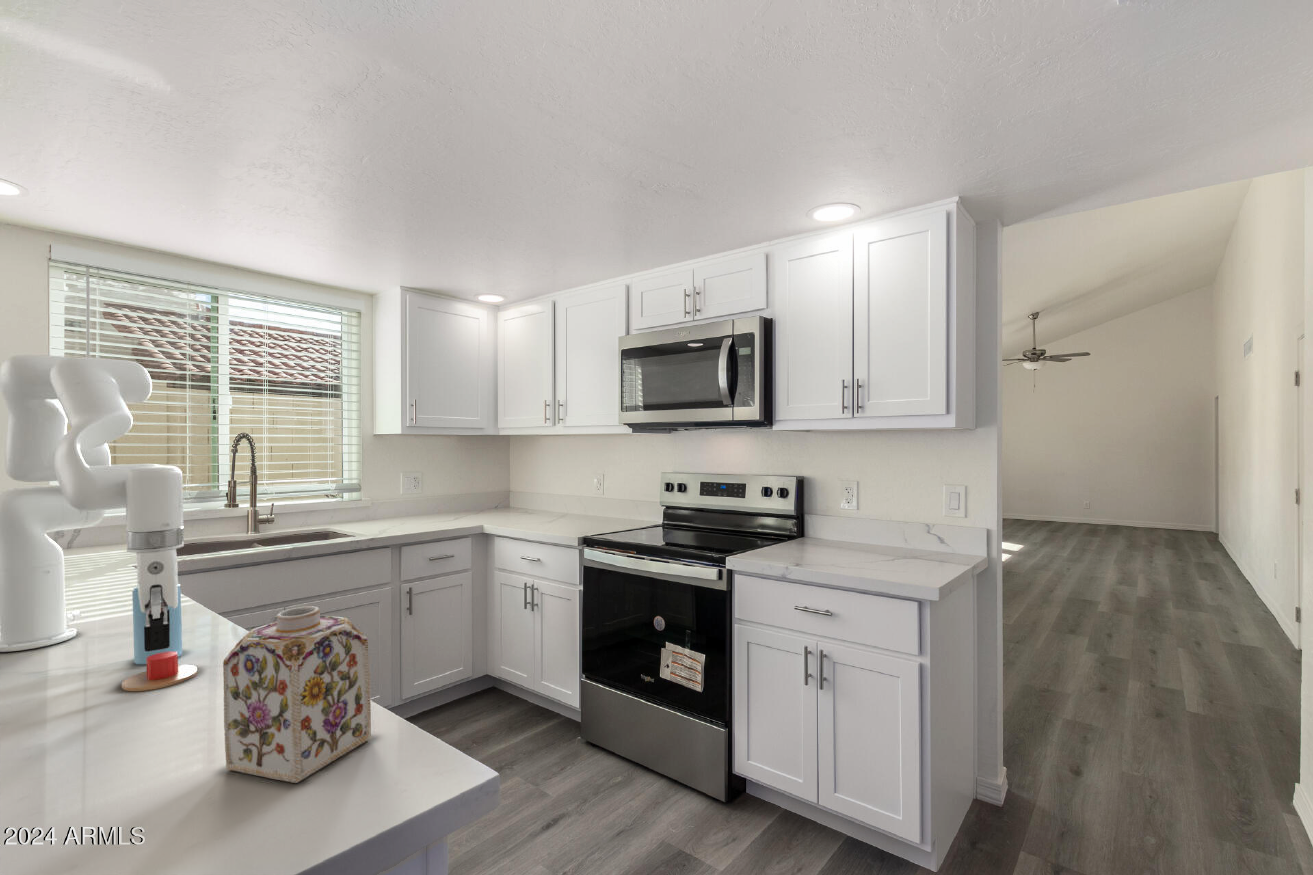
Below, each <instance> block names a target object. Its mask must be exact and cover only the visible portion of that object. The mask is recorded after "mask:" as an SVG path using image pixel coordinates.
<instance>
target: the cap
mask: <svg viewBox="0 0 1313 875" xmlns="http://www.w3.org/2000/svg"><path fill="white" fill-rule="evenodd" d="M146 660H147V664H146V671H147V679H149V680H157V679H163V678H167V677H170V676H173V675H175V674H177V673H178V665H179V657H177V652H163V653H158V654H154V655H151V656H149V657H147V659H146Z"/></svg>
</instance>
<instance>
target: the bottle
mask: <svg viewBox="0 0 1313 875" xmlns="http://www.w3.org/2000/svg"><path fill="white" fill-rule="evenodd" d="M181 593H182V592H181V584H180V582H179V581H178V606H177V607H176V608H175V609H173V607H168V605H167V607H168V609H167V610H169V620H170V631H169V635H170V646H169V648H166V649H160V650H154V651H148V652H146V651H145V648H144V626H146V612H145V613H144V612H142V611H141V608H140V601H139V594H138V584H137V585H136V586H134V587H133V590H132V591H131V595H132V596H131V597H132V600H131V601H132V625H133V626H132V629H133V661H134V662H133V663H134V664H135V665H141V666H142V665H147V660H146V659H147V657H149V656H151V655H154V654H158V653H163V652H177V658H179V657H181V656H182V655H183V627H182V626H183V625H182V594H181Z"/></svg>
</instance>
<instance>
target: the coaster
mask: <svg viewBox="0 0 1313 875" xmlns="http://www.w3.org/2000/svg"><path fill="white" fill-rule="evenodd" d="M196 675H198V668H197V666H195V665H189V664H178V673H177V674H175V675H173V676H170V677H167V678H163V679H157V680H149V679H147V670H145V671H142V672H139V673H137V674H134V675H131V676H129V677H127V678H125V679H124V680H123V681H122V683H121V689H122V690H123V691H125V692H126V691H127V692H144V691H152V690H159V689H162V688H168V687H171V686H174V685H178V684H181V683H183V682H186V681H188V680H190V679H192V678H194V677H195V676H196Z"/></svg>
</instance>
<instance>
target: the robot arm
mask: <svg viewBox="0 0 1313 875" xmlns="http://www.w3.org/2000/svg"><path fill="white" fill-rule="evenodd" d="M152 389H153V383H152V378H151V376H150V373H149V372H148V370H147V368H145V367H144V366H143V365H142V364H140V363H138V362H136V361H133V360H126V359H113V358H103V357H102V358H100V357H87V356H85V357H84V356H79V357H78V356H76V357H72V356H61V355H46V354H18V355H13V356H10V357H8V358H6V359H5V360H4V361H3V362H2V363H1V365H0V391H1V395H2V397H3V399H4V403H5V406H6V408H7V409H6V410H7V418H8V419H7V428H6V440H5V454H4V468H5V473H6V474H7V475H8V476H7V477H9V478H11V479H12V480H14V481H17V482H24V483H39V482H40V483H41V482H42V483H43V482H57V483H58V484H55V485H52V484H50V485H48V484H47V485H33V486H21V487H15V488H8V489H6V490H3V491H1V492H0V653H6V652H7V653H9V652H19V651H27V650H33V649H37V648H38V649H39V648H43V647H48V646H51V645H55V644H58V643H62V642H66V641H68V640H71V639H73V638H74V637H75V636H76V635H77V629H76V628H75V627H69V624H70V623H71V622H74V621H77V620H79V619H80V618H81V617H82V614H81V612H80V611H79V610H74V611H71V612H68V611H67V612H66V582H65V579H66V578H65V556H64V551H63V549H62V547H60V545H59V544H58V543H56V542H55V541H54V540H53V539H51V537H49V536H48V535H47V533H52V532H60V531H68V530H77V529H83V528H90V527H94V526H97V525H98V524H100V523H101V522H102V520H103V519H104V516H105V515H106V511H110V510H119V509H125V524H126V526H125V530H126V552H127V553H131V554H135V555H136V556H135V557H136V582H137V585H138V594H139V601H140V608H141V611H142V612H144V613H145V612H146V626H144V648H145V651H146V652H148V651H154V650H160V649H166V648H169V646H170V635H169V631H170V620H169V610H167V609H168V607H173V609H175V608H176V607H177V606H178V582H179V573H178V572H179V571H178V570H179V568H178V565H179V564H178V553H177V549H181V548H183V547H184V546H185V540H184V537H185V536H184V535H185V532H184V495H183V494H184V487H183V486H184V485H183V483H184V482H183V481H184V479H183V472H182V470H181V469H180V468H178V467H177V466H172V465H161V464H158V463H133V464H129V463H128V464H127V463H126V464H124V463H123V464H111V462H112V461H111V458H112V457H111V451H110V449H109V446H108V444H109V443H113V442H114V441H116V440H119V439H120V438H122V437H123V436H124V435H126V434H127V433H128V432H129V431H130V430H131V429H132V426H133V420H134V419H133V416H132V414H131V412H130V411H129V409H128V406H127V405H126V404H129V405H130V404H131V405H139V404H142V403H145V402H146V401H147V400H148V399H149V398H150V396H151V393H152ZM68 424H69V426H70V429H69V430H68V431H67V429H68V428H67V426H68ZM167 605H168V607H167Z"/></svg>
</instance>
